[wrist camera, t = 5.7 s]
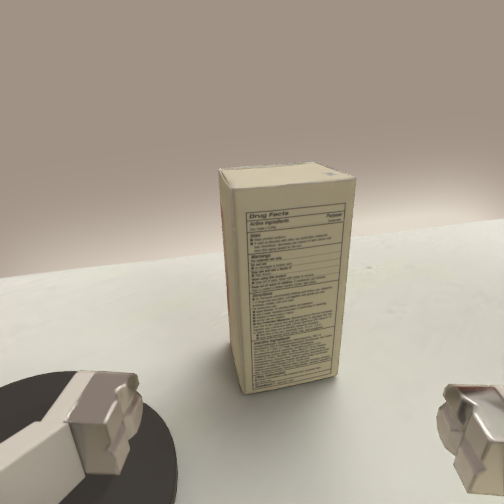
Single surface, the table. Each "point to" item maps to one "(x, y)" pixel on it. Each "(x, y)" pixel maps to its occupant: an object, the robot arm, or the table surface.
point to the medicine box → (285, 270)
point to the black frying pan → (99, 486)
